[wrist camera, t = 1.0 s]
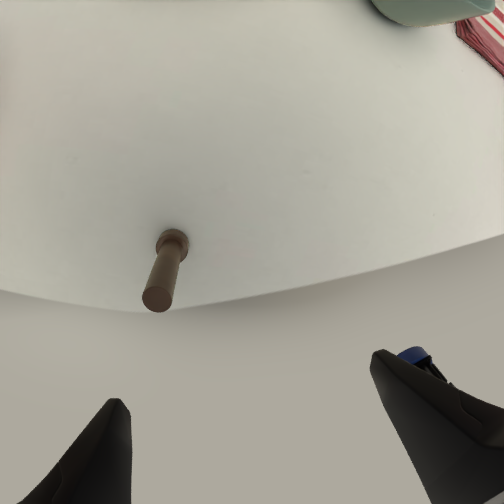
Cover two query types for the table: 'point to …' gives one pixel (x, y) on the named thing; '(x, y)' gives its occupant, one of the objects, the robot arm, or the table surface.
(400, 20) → the cup
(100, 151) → the table surface
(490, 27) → the dish towel
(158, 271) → the dark brown collared rod
